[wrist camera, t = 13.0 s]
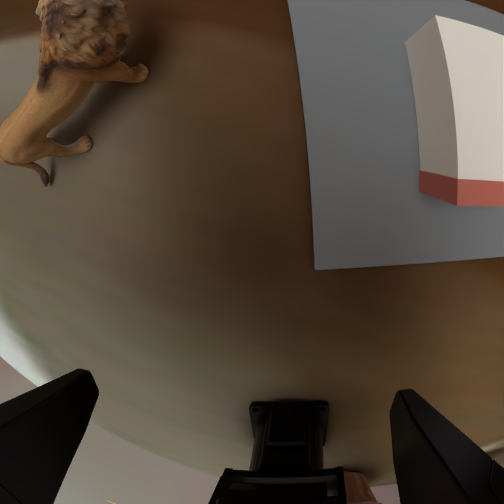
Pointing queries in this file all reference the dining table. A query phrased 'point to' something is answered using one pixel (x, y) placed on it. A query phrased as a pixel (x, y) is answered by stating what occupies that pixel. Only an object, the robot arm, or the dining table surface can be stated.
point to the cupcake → (358, 489)
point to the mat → (377, 137)
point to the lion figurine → (67, 76)
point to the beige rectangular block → (459, 111)
